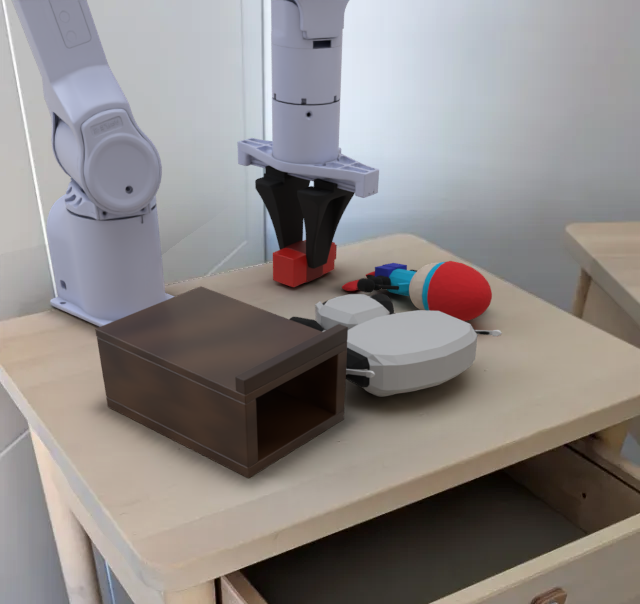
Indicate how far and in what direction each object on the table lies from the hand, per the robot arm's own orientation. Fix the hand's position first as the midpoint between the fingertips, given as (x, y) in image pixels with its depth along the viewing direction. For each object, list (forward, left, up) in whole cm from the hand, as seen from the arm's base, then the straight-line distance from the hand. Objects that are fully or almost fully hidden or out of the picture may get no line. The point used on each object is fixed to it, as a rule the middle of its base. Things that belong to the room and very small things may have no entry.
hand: (304, 260), depth 80 cm
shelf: (+12, -23, -2) cm, 26 cm away
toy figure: (+12, +2, -2) cm, 12 cm away
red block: (0, 0, -1) cm, 1 cm away
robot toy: (+16, -10, -2) cm, 19 cm away
